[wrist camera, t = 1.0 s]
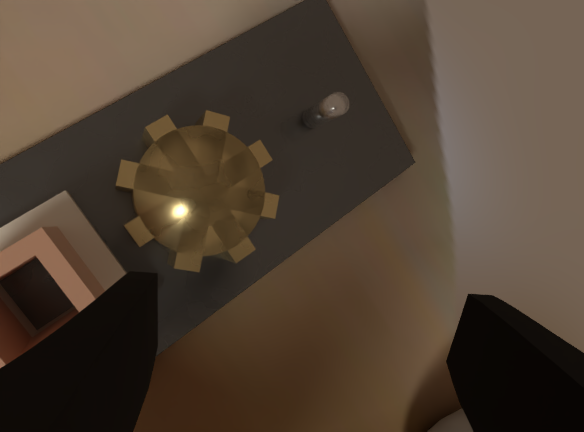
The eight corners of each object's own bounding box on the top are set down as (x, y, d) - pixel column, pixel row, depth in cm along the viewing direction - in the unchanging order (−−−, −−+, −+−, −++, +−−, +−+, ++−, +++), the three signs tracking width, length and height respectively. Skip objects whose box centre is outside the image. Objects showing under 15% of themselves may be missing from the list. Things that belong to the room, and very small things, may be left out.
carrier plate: (34, 439, 19) (15, 491, 16) (-133, 241, 17) (-200, 247, 14) (404, 164, 26) (453, 154, 22) (313, 0, 24) (349, -41, 20)
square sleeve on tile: (24, 387, 18) (-9, 447, 13) (-71, 273, 17) (-144, 293, 12) (147, 301, 20) (158, 326, 15) (68, 192, 19) (52, 181, 14)
